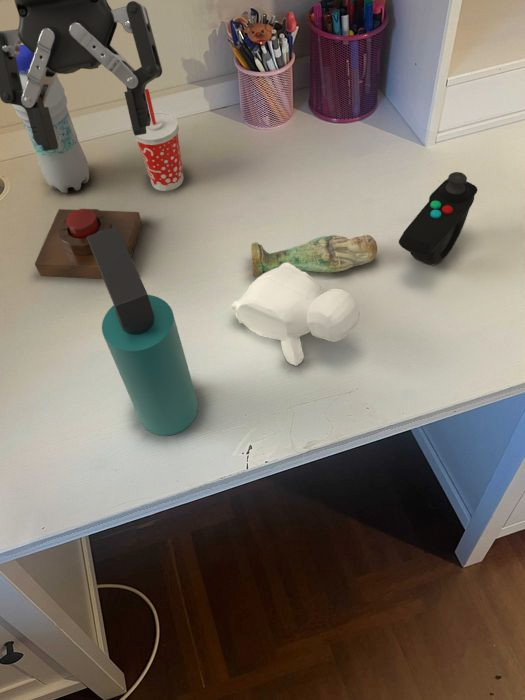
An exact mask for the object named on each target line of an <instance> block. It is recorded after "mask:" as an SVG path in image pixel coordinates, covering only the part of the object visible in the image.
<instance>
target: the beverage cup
mask: <svg viewBox="0 0 525 700" xmlns="http://www.w3.org/2000/svg"><path fill="white" fill-rule="evenodd" d="M145 95H146V99H147V104H148V109H149V114H150V118H151V122H150V126H146V134H142V135H137V136H135V135H134V133H133V129H132V126H131V132H132V135H133V138H134V139H135V140H136V141H137V146H138V148H139V151H140V153H141V157H142V160H143V162H144V165H145V168H146V173H147V174H148V178H149V181H150V184H151V186H152V187H153V188H154V189H155V190H157V191H160V192H169V191H173V190H175V189H177V188H179V187H180V186H181V185H182V184H183V182H184V178H185V177H184V171H183V170H184V169H183V163H182V154H181V147H180V140H179V133H178V132H179V129H180V127H179V122H178V117H176V116H175V115H174V114H173V113H171V112H167V111H154V107H153V103H152V98H151V93H150V90H149V89H148V88H145Z"/></svg>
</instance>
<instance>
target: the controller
mask: <svg viewBox="0 0 525 700" xmlns="http://www.w3.org/2000/svg"><path fill="white" fill-rule="evenodd" d="M467 180H468V177H467V175H466V174H465V173H463V172H461V171H454V172H451V173H450V174H449V175H448V177H447V178H446V179H445V180H444V181H443V182H442V183H441V184H440V185H438V186H437V188H436V189H435V190H433V191H432V192H431V194H430V195H429V198H428V201H427V203H426V204H425V205H424V207H423V208H422V209H420V212H419V213H418V214H417V215H416V216H415V217H414V219H413V220H412V221H411V223H409V225H408V226H407V227H406V228H405V230H404V231H403V232H402V234H401V235H400V238H399V239H398V245H399V246H400V247H401V248H402V249H404V250H406V251H407V252H409V253H410V255H411V256H412V258H413V259H415V260H416V261H418V262H420V263H422V264H425V265H427V266H437V265H438V264H440V263H441V262H442V261H443V260H445V259H446V257H447V256H448V255H449V253H450V252H451V250H452V249H453V247H454V246H455V244H456V243H457V241H458V238H459V236H460V235H461V232H462V231H463V228H464V225H465V223H466V220H467V217H468V214H469V212H470V209H471V207H472V205H473V203H474V202H475V201H474V200H475V196H476V194H477V193H478V187H477V186H476V185H475V184H473V183H472V182H470V181H467Z"/></svg>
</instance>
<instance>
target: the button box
mask: <svg viewBox="0 0 525 700" xmlns="http://www.w3.org/2000/svg"><path fill="white" fill-rule="evenodd" d="M88 209H89V210H92V211H93V212H94V213H95V215H96V218H97V221H98V224H99V229H98V231H100V230H107V229H110V228H113V227H117V228H118V230H119V232H120V234H121V237H122V239H123V241H124V243H125V245H126V248H127V250H128V252H129V254H130V256H131V258H132V256H133V254H134V251H135V249H136V248H135V247H136V244H137V241H138V239H139V235H140V233H141V229H142V227H143V221H142V217H141V215H140V211H128V210H127V211H125V210H124V211H123V210H100V209H97V208H88ZM76 210H77V209H70V208H69V209H65V208H59V209H58V210H57V213H56V215H55V216H54V217H55V218H54V220H53V222H52V224H51V226H50V229H49V230H48V233H47V235H46V237H45V240H44V242H43V244H42V247H41V248H40V251H39V253H38V255H37V257H36V260H35V261H34V266H35V267H36V269H37V271H38V274H39V275H40V276H41V277H57V278H58V277H60V278H61V277H62V278H82V279H99V280H100V279H101V280H102V279H103V277H102V275H101V272H100V270H99V267H98V265H97V262H96V260H95V257H94V255H93V252H92V250H91V247H90V244H89V242H88V239H87V238H84V239H80V238H75V237H74V236H72V234H71V232H70V230H69V227H68V225H67V218H68V216H69V215H70V214H71V213H72V212H74V211H76ZM98 231H97V232H98ZM97 232H96V233H97ZM96 233H95V234H96Z"/></svg>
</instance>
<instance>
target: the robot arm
mask: <svg viewBox="0 0 525 700" xmlns="http://www.w3.org/2000/svg"><path fill="white" fill-rule="evenodd" d="M14 4H15V8H16V10H17V13H18V18H19V19H18V20H19V22H18V28H15V29H9V30H0V100H1V102H3V104H9V105H12V104H14V105H19V106H22V107H23V108H24V109H25V110H26V112H27V115H28V119H29V122H30V126H31V130H32V133H33V137H34V140H35V142H36V143H37V145H42V148H43V150H44V151H50V150H55V149H58V142H57V139H56V135H55V131H54V127H53V123H52V120H51V116H50V112H49V108H48V107H44V103H45V101H46V98H47V95H48V92H49V90H50V87H51V86H52V85H53V83H54V81H55V79H56V76H57V77H58V74H60V75H69V74H74V73H76V72H78V71H80V70H95V69H99V67H100V66H101V65H102V66H104V68H105V69H106V70H108V71H109V72H111V73H112V74H113V75H114V76H115V77H116V78H117V79H118V80H119V81H120V82H122V84H123V85H124V86H125V87H126V91H124V92H123V93H124V97H125V101H126V106H127V111H128V115H129V119H130V125H131V127H132V128H131V130H132V129H133V133H134V135H135V136H137V135H142V134H146V126H150V122H151V118H150V114H149V113H150V111H149V106H148V102H147V98H146V93H145V89H146V87H147V85H148V84H149V83H150V82H153V81H154V80H156V79H158V78H160V77H161V76H162V75H163V67H162V63H161V60H160V56H159V51H158V48H157V44H156V40H155V37H154V33H153V29H152V26H151V21H150V17H149V13H148V10H147V8H146V6H144V5H143V4H141V3H140V2H138V1H135V0H131V1H129V2H128V3H127V4H126V5H125V6H122V7H118V8H114V9H112V8H111V6H110V5H109V2H108V0H14ZM118 24H121V25H122V28H123V30H124V31H125V32H126V33H128V34H131V35H132V36H133V41H134V45H135V47H136V52H137V54H138V58H139V62H140V67H139V68H137V69H135V68H134V67H133V66H132V65H131V64H130V63H129V62H128V60H127V59H126V58H125V57H124V56H123V55H122V54H121V53H120V52H119V51H118V50H117V49H116V48H115V47H113V45H112V44H111V43H112V40H113V38H114V36H115V32H116V29H117V26H118ZM20 45H25V46H26V47H27V48H28V49H29V50H30V51H31V52H32V53H33V54H34V57H33V60H32V62H31V65H30V68H29V71H28V74H27V78H28V80H27V83H26V86H25V89H24V91H23V88H22V84H21V79H20V74H19V70H18V65H17V61H16V57H17V56H18V55H19V52H20V49H19V47H20ZM38 67H39V68H38ZM133 133H132V134H133ZM134 135H133V136H134Z"/></svg>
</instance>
